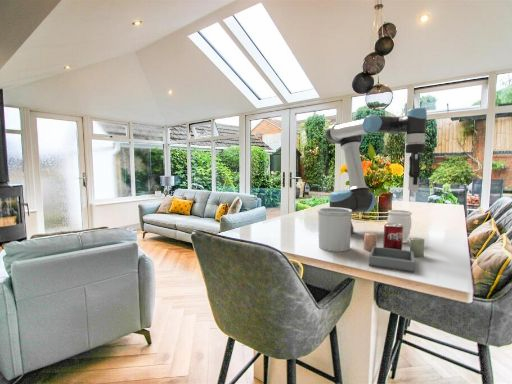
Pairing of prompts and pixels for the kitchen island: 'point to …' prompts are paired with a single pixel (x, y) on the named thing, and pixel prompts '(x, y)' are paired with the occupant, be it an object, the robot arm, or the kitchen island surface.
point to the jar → (401, 221)
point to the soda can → (393, 236)
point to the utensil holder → (334, 228)
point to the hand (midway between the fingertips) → (412, 191)
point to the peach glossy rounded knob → (369, 241)
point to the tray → (392, 259)
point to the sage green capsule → (417, 247)
